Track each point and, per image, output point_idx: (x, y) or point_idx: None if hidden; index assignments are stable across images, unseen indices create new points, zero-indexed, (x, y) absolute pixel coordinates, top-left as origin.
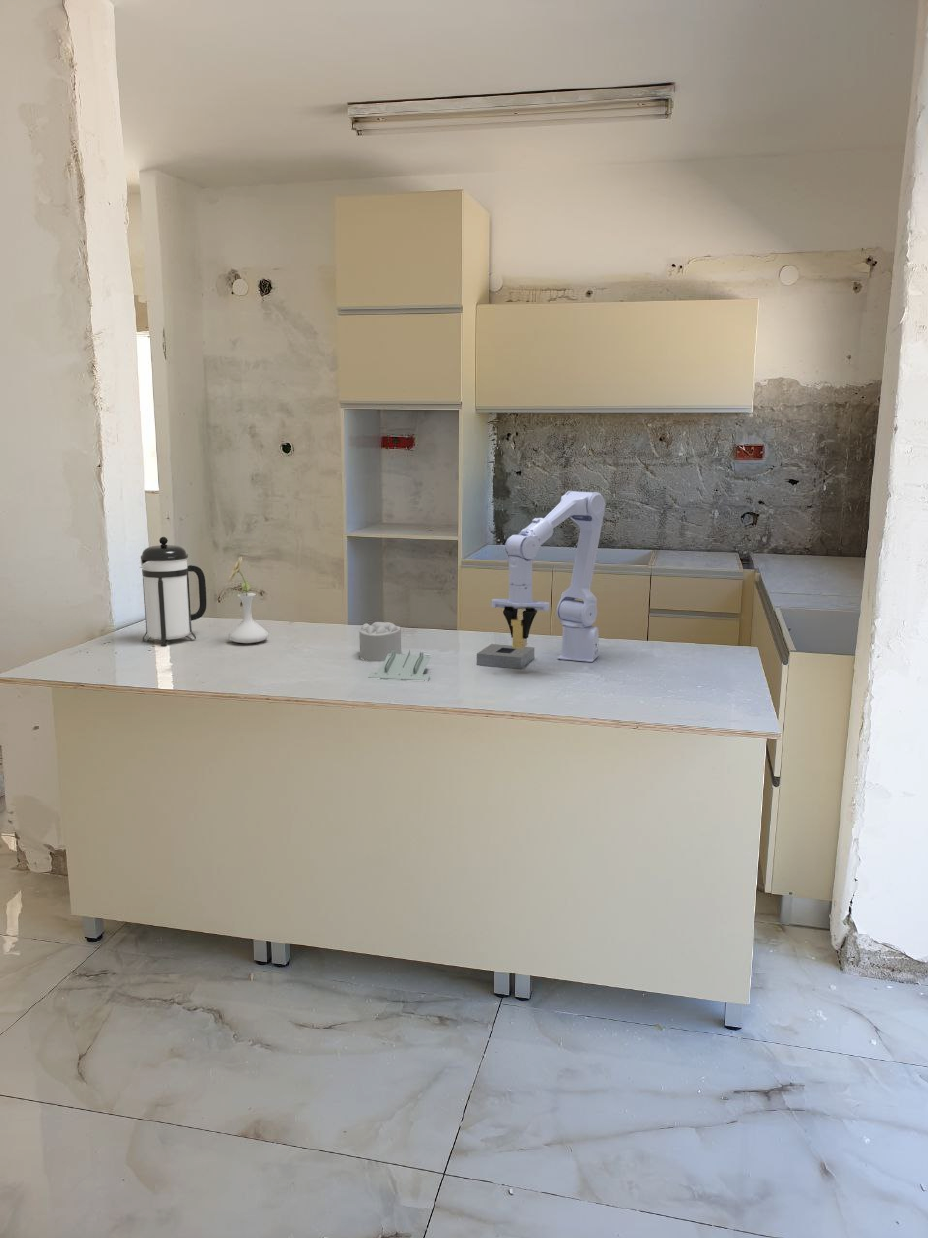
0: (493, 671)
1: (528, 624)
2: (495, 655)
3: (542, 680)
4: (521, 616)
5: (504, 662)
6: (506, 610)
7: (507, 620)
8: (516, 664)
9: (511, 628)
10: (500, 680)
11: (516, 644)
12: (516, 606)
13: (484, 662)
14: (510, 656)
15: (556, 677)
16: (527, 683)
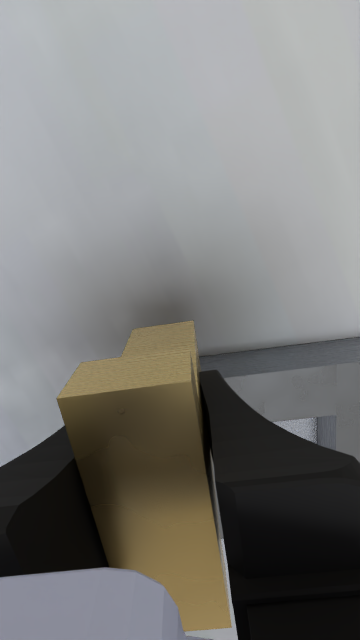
0: (276, 273)
1: (42, 444)
2: (315, 366)
3: (26, 240)
4: (167, 570)
5: (263, 359)
6: (348, 561)
7: (271, 425)
8: (208, 363)
9: (220, 396)
10: (183, 141)
11: (168, 332)
12: (6, 579)
13: (352, 343)
14: (241, 378)
15: (7, 311)
16: (52, 157)
